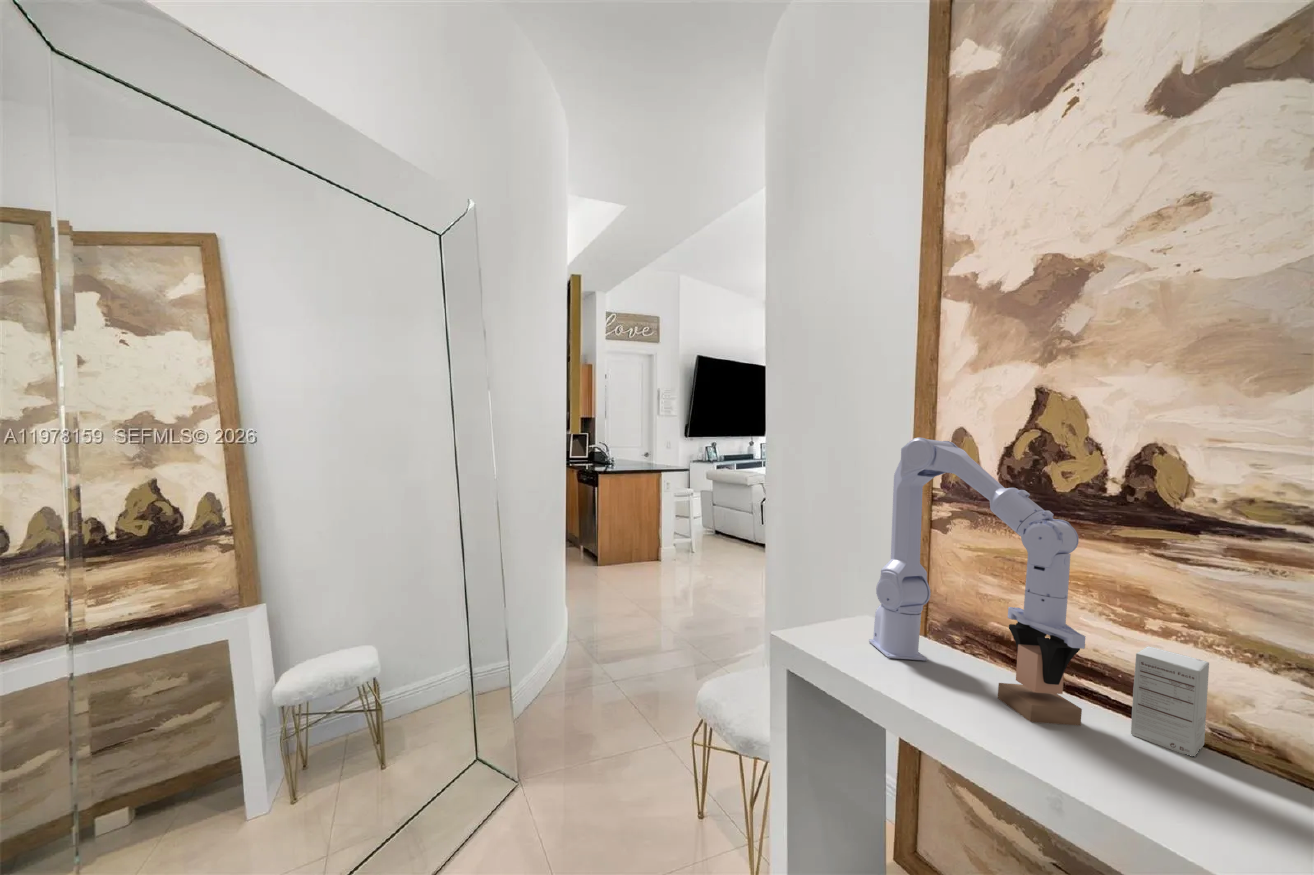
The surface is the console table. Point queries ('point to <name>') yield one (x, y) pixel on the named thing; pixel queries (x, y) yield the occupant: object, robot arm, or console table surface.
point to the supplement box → (1170, 700)
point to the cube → (1034, 670)
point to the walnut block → (1039, 705)
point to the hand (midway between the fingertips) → (1039, 676)
